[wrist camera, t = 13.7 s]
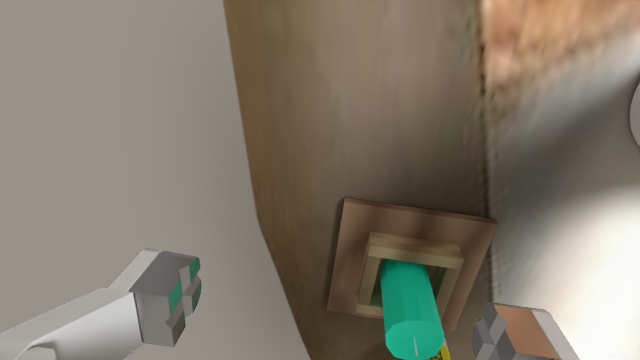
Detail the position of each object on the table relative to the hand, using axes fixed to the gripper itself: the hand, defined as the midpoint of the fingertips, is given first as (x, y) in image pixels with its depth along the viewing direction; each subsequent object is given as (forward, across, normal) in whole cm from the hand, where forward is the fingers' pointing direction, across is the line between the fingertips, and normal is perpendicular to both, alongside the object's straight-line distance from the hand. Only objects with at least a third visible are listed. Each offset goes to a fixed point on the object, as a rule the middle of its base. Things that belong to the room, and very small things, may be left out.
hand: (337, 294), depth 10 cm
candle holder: (+29, -10, +22) cm, 38 cm away
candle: (+28, -10, +22) cm, 37 cm away
